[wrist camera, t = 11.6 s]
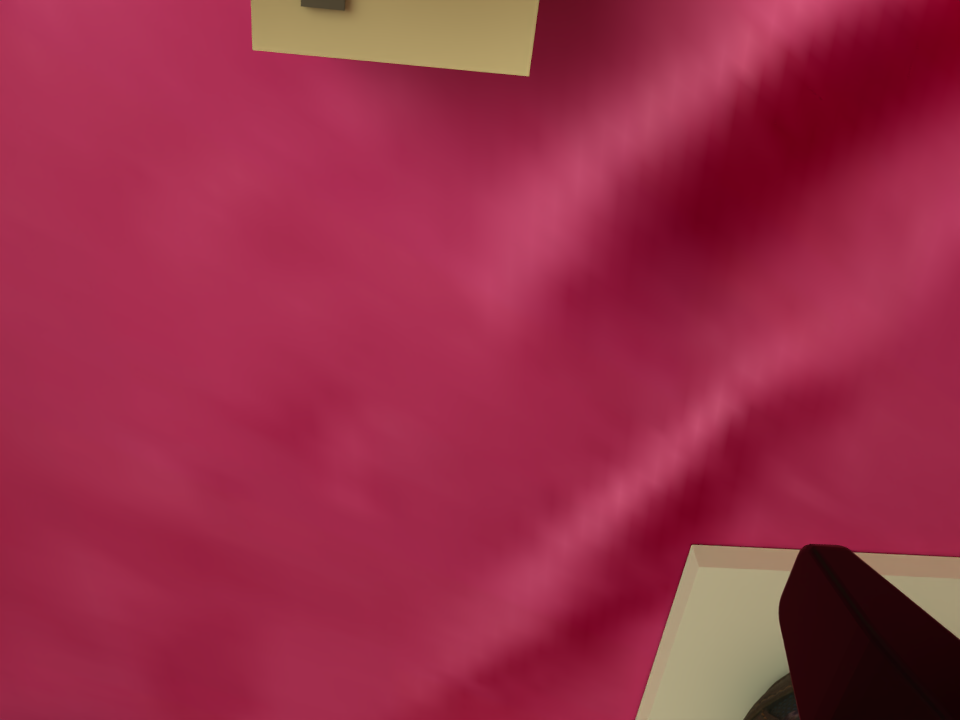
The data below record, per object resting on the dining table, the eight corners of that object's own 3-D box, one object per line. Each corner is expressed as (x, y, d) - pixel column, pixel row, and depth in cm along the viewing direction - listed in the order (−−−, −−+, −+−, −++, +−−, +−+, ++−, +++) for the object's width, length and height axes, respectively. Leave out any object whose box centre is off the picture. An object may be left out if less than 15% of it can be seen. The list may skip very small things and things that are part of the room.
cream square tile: (929, 791, 32) (940, 813, 31) (614, 783, 31) (618, 807, 30) (1077, 563, 26) (1094, 584, 25) (691, 544, 24) (699, 567, 24)
